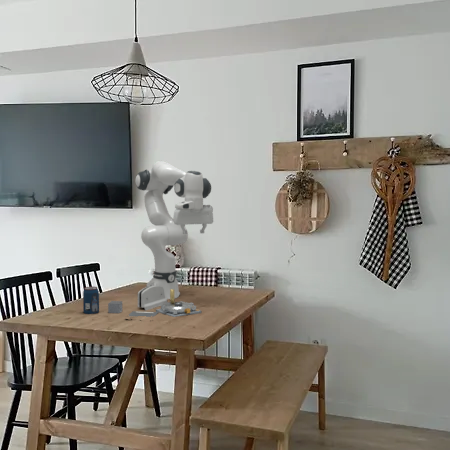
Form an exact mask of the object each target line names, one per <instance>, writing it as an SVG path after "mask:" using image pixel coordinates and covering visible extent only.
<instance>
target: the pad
mask: <svg viewBox="0 0 450 450" xmlns="http://www.w3.org/2000/svg"><path fill="white" fill-rule="evenodd" d="M158 314H159V312H156V311H137V310H133V311H131V312H130V313H129V314H128V315H129V316H128V317H138V316H146V317H148V318H154V317H155V316H157V315H158ZM151 316H152V317H151ZM146 317H145V318H146Z"/></svg>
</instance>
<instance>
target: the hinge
mask: <svg viewBox="0 0 450 450" xmlns="http://www.w3.org/2000/svg"><path fill="white" fill-rule="evenodd" d="M168 302H169V301H168V299H166V298H165V293H164V288H163V287H160V286H149V287H146V286H145V287H143V288H142V289H140V290H139V291H138V292H137V308H144V312H147V311H148V310H152V309H154V308H158V307H161V305H165V304H167V303H168Z"/></svg>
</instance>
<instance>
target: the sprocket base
mask: <svg viewBox="0 0 450 450" xmlns="http://www.w3.org/2000/svg"><path fill="white" fill-rule="evenodd" d="M155 312H158V314H162V315H167V316H169V317H172V318H177V317H182V316H183V317H184V316H190V315H197V314H202V310H200V309H197V308H196V310H192V311H190V313H178V314H173V313H168V312H166V313H164V312H163V310H162V309H161V308H157V309H155Z"/></svg>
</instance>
